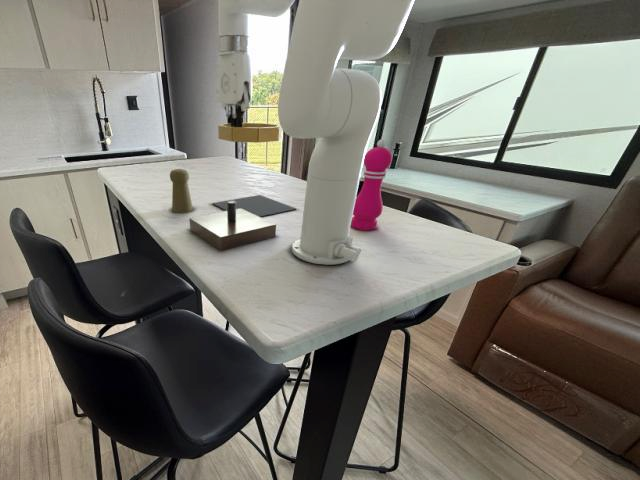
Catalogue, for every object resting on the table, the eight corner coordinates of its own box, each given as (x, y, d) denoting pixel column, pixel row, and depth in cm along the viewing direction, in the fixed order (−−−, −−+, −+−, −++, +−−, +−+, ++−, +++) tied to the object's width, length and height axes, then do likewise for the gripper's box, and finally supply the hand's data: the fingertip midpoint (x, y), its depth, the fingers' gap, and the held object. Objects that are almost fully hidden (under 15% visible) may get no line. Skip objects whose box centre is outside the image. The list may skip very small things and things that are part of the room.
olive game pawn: (195, 206, 95) (192, 167, 89) (190, 212, 90) (187, 171, 84) (175, 206, 96) (171, 167, 90) (169, 212, 91) (164, 171, 85)
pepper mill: (382, 226, 82) (404, 139, 71) (370, 233, 77) (392, 142, 67) (356, 219, 86) (373, 137, 75) (343, 226, 82) (359, 139, 71)
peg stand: (275, 236, 75) (277, 204, 71) (220, 250, 68) (219, 216, 64) (240, 219, 86) (240, 190, 82) (190, 229, 79) (187, 199, 75)
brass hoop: (292, 140, 79) (293, 126, 77) (242, 143, 72) (242, 128, 70) (256, 134, 90) (256, 122, 88) (209, 137, 82) (209, 123, 81)
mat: (296, 209, 94) (296, 208, 93) (245, 220, 85) (245, 219, 85) (259, 196, 106) (259, 195, 106) (212, 204, 98) (212, 203, 98)
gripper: (205, 49, 79) (208, 133, 89) (239, 43, 68) (239, 138, 78) (230, 52, 83) (231, 131, 93) (267, 46, 72) (263, 137, 82)
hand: (234, 134), depth 85 cm, fingers closed on brass hoop, 1 cm apart
